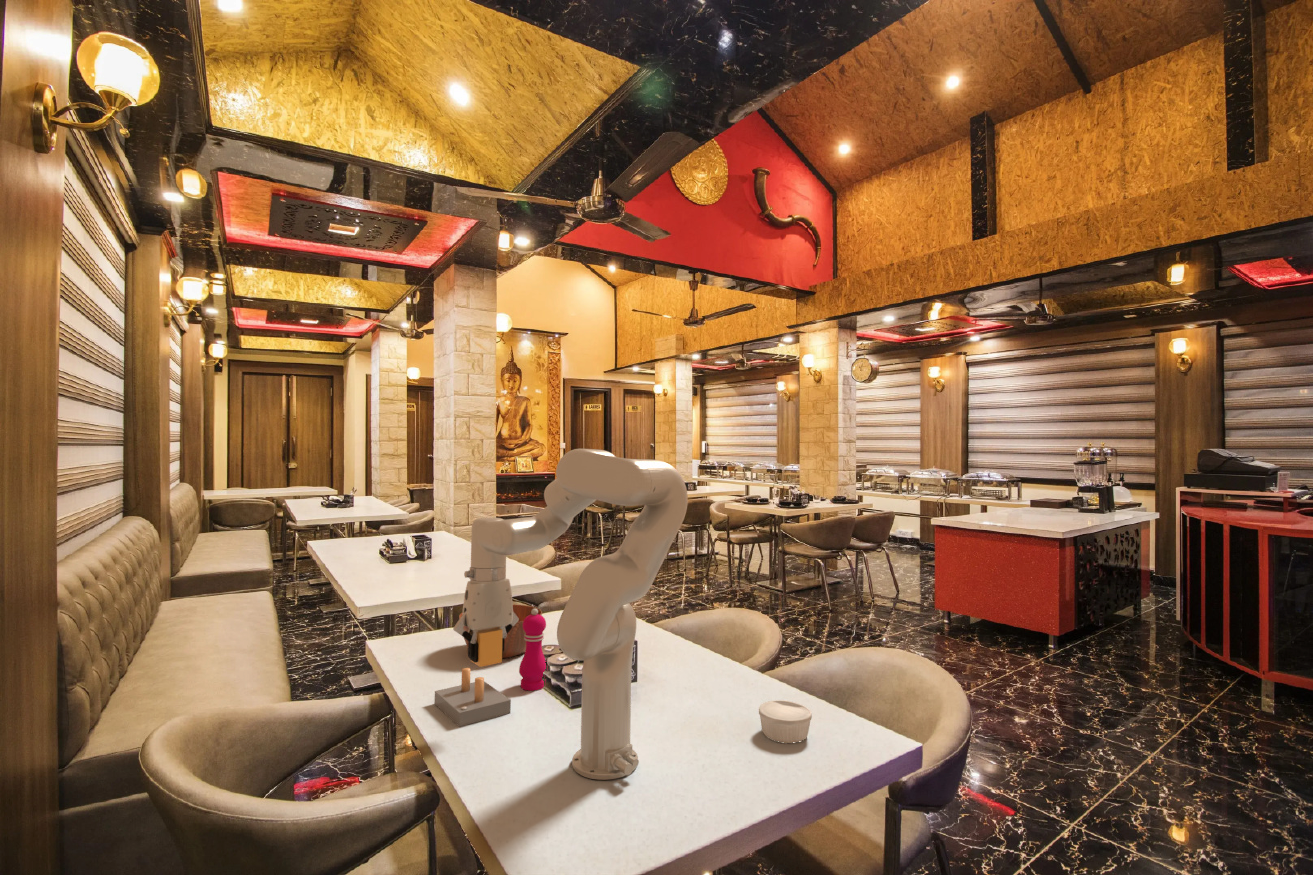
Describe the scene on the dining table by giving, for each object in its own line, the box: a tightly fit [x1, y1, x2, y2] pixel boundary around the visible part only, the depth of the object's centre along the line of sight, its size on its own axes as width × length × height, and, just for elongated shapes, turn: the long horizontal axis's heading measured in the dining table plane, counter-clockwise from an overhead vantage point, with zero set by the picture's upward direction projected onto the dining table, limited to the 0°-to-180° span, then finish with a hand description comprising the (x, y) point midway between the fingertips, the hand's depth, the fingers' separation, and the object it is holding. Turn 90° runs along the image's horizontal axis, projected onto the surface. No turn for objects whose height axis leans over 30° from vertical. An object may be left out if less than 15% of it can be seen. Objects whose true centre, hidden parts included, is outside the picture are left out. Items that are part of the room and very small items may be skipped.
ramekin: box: [758, 699, 813, 744], centre depth 128 cm, size 11×11×5 cm
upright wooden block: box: [470, 627, 503, 668], centre depth 130 cm, size 5×5×7 cm
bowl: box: [458, 604, 543, 659], centre depth 184 cm, size 25×25×11 cm
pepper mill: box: [518, 608, 547, 692], centre depth 155 cm, size 7×7×20 cm
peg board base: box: [434, 667, 512, 728], centre depth 140 cm, size 16×12×8 cm
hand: (486, 657), depth 130 cm, fingers closed on upright wooden block, 4 cm apart
